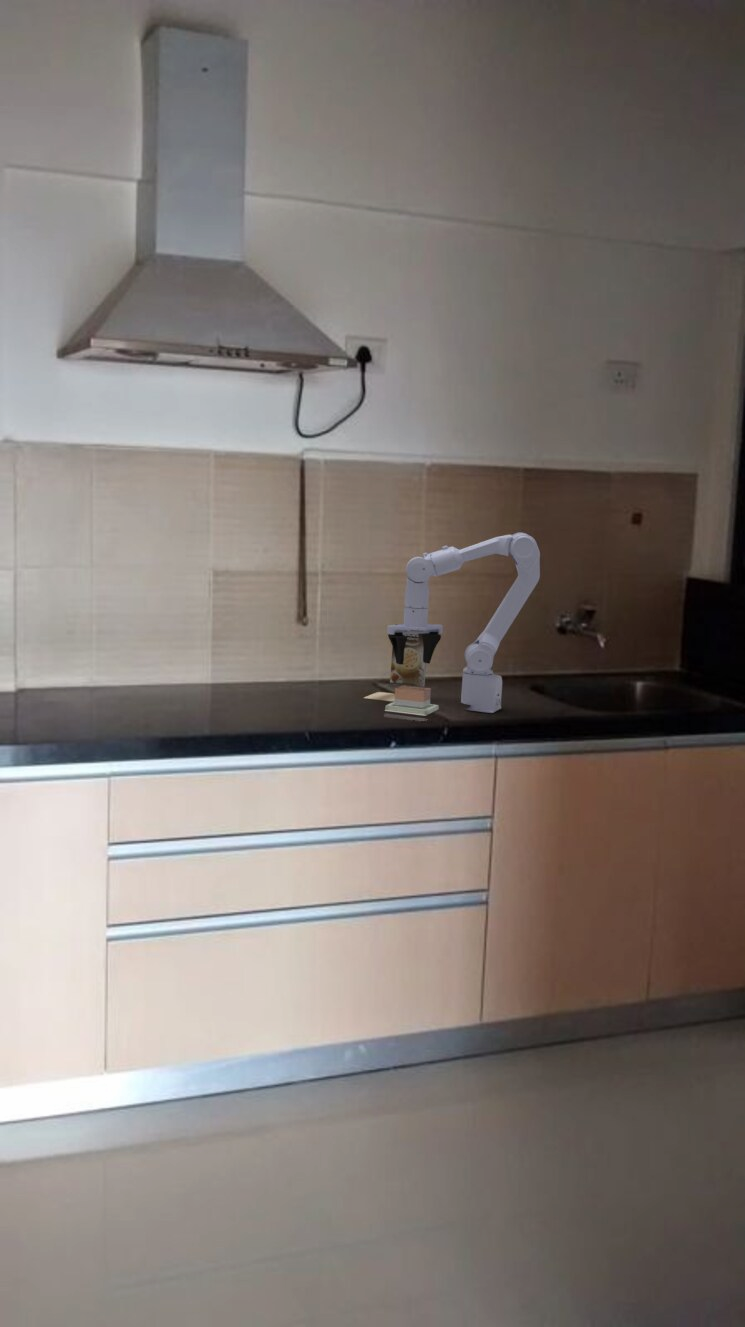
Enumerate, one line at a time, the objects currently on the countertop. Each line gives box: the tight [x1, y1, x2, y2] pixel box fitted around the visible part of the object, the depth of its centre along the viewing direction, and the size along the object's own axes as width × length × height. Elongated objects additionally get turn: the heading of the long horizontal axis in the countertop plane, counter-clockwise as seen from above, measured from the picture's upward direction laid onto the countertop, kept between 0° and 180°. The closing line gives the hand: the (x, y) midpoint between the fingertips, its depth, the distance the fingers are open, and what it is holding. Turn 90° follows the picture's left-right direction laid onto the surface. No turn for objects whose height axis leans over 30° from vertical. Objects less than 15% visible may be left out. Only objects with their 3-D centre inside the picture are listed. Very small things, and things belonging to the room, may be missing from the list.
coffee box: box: [389, 623, 427, 687], centre depth 344 cm, size 9×6×16 cm
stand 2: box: [383, 701, 440, 722], centre depth 307 cm, size 10×10×2 cm
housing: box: [394, 684, 432, 710], centre depth 307 cm, size 5×7×5 cm
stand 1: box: [363, 691, 395, 703], centre depth 322 cm, size 10×10×2 cm
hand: (413, 663), depth 319 cm, fingers open, 7 cm apart
